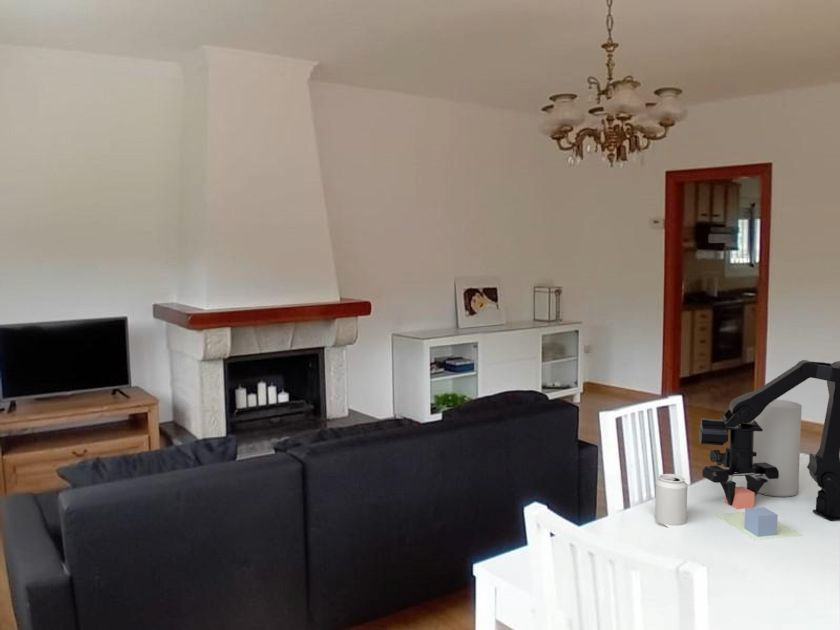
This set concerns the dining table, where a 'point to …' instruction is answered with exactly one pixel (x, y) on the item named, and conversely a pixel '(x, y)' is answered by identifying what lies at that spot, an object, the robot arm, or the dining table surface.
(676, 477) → the can
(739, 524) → the build board
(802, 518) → the dining table surface
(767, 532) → the blue brick
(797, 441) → the gray cylinder
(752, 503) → the red brick
